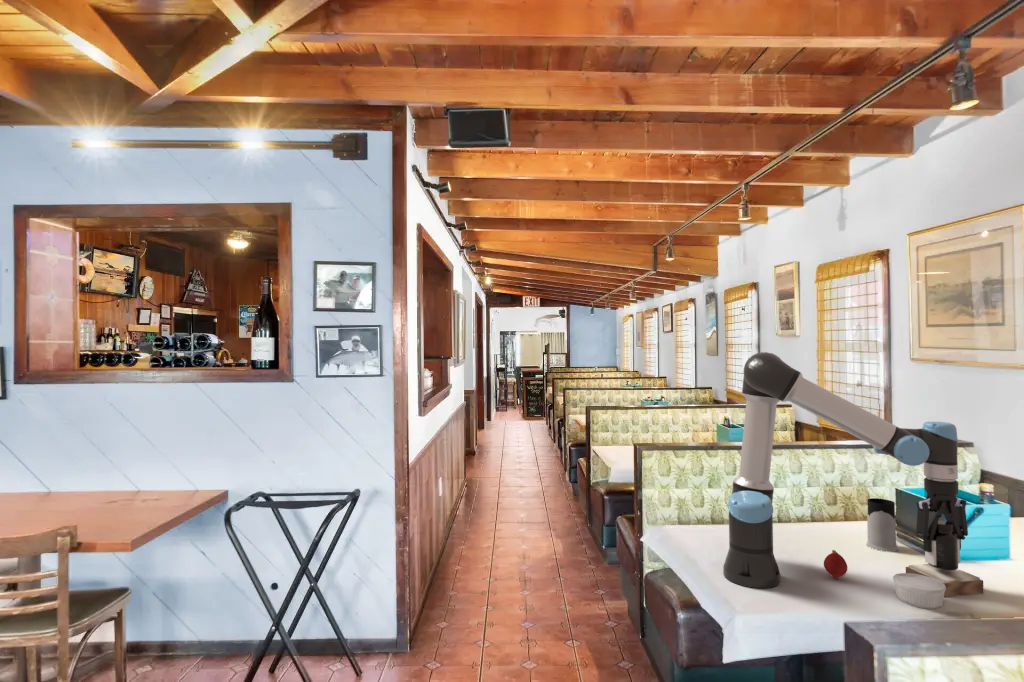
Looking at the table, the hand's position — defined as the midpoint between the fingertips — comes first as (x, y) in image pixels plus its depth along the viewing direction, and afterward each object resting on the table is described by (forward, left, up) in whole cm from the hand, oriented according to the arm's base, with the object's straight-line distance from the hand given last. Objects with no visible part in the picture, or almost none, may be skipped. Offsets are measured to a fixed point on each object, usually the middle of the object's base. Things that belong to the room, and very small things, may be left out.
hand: (942, 562), depth 156 cm
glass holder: (+10, +32, -7) cm, 34 cm away
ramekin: (-14, -7, -7) cm, 17 cm away
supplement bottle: (0, 0, -1) cm, 1 cm away
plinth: (0, 0, -6) cm, 6 cm away
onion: (-25, +10, -7) cm, 28 cm away
